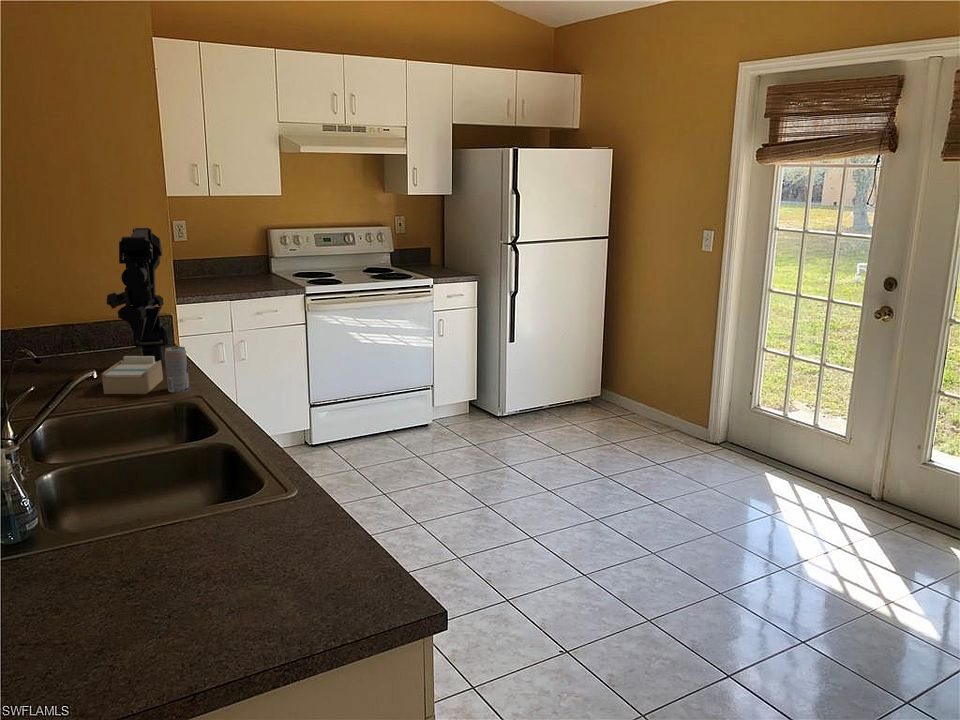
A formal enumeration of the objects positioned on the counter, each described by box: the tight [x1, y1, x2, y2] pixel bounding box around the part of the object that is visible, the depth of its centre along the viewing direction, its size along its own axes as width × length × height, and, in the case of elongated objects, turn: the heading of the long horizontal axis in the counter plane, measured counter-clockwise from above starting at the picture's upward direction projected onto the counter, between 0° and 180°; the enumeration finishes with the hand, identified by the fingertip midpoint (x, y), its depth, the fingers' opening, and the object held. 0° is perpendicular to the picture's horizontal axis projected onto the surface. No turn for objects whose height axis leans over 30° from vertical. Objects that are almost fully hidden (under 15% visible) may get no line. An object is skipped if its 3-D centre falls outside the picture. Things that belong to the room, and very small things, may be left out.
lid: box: [105, 355, 157, 377], centre depth 209 cm, size 13×9×2 cm
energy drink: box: [164, 346, 190, 394], centre depth 208 cm, size 5×5×12 cm
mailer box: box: [101, 359, 164, 395], centre depth 210 cm, size 13×11×6 cm
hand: (144, 336), depth 219 cm, fingers open, 8 cm apart
